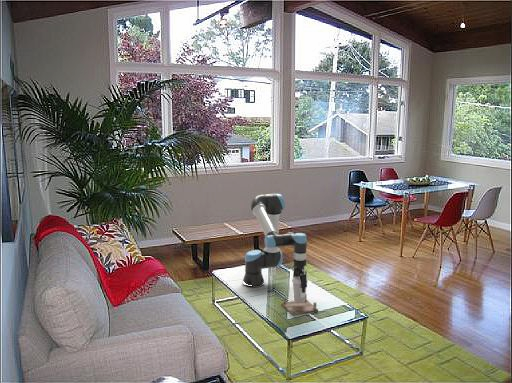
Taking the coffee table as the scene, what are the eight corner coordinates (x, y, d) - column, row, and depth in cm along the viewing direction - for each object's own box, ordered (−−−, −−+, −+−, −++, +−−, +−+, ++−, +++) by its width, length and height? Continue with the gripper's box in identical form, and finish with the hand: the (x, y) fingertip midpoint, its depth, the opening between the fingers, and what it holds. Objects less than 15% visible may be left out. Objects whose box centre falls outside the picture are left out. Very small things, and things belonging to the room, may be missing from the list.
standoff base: (281, 304, 267) (281, 296, 266) (306, 300, 272) (306, 293, 272) (292, 315, 251) (292, 307, 250) (318, 311, 256) (318, 303, 256)
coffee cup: (289, 303, 258) (290, 279, 256) (294, 297, 267) (294, 274, 265) (305, 305, 255) (305, 281, 253) (309, 299, 264) (309, 276, 261)
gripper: (287, 254, 266) (287, 289, 269) (301, 264, 246) (301, 301, 249) (298, 253, 268) (298, 287, 271) (313, 263, 248) (312, 300, 252)
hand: (299, 294), depth 260 cm, fingers closed on coffee cup, 8 cm apart
